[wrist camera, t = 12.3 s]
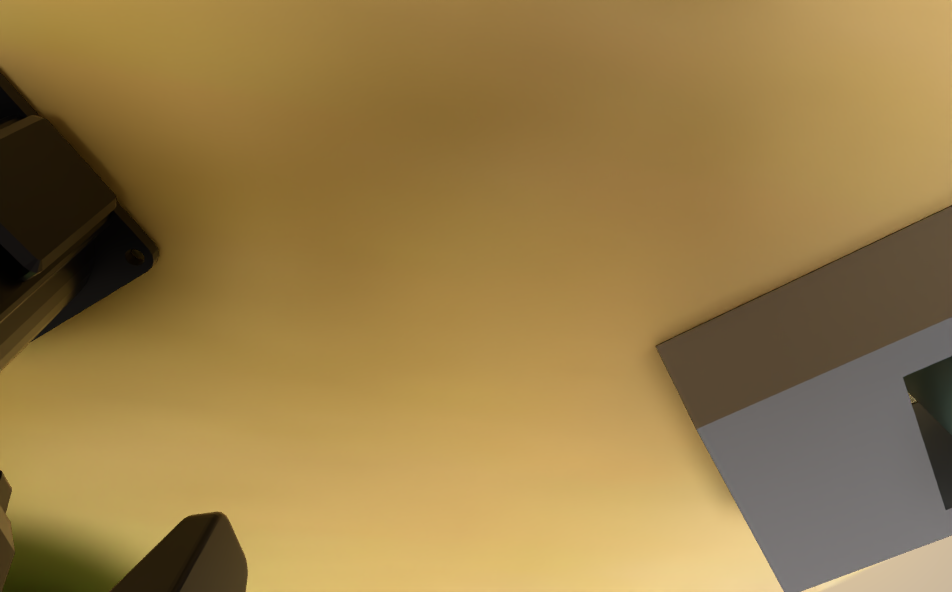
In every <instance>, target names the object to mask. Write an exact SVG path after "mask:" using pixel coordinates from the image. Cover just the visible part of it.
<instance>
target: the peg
mask: <svg viewBox="0 0 952 592" xmlns="http://www.w3.org/2000/svg"><path fill="white" fill-rule="evenodd" d="M903 379H904V382H905V385H906V389H907V391H908V392H909V393H910V394H911V395H912V396H913V397H914V398H915V399H916V400H917V401H918V402H919V403H920V404H921V405H922V406H923V407H924V408H925V409H926V410H927V411H928V412H929V413H930V414H931V415H932V416H933V417H934V418H935V419H936V420H937V421H938V422H939V423H940V424H941V425H942V426H943V427H944V428H945V429H946V430H947V431H948V432H949V433H950V434H951V435H952V356H951V357H948V358H946V359H944V360H941V361H939V362H937V363H934V364H932V365H930V366H927V367H925V368H923V369H920V370H918V371H916V372H913V373H911V374H909V375H906V376H904V377H903Z"/></svg>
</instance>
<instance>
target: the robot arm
mask: <svg viewBox="0 0 952 592" xmlns="http://www.w3.org/2000/svg"><path fill="white" fill-rule="evenodd" d="M131 249H136V250H138V251H140V252H141V253H142V254H143V256H144V259H138V258H136V257H135V256H134V255H133V254H132V252H131ZM158 257H159V252H158V248H157V247H156V245H155V243H154V242H153V241H152V240H151V239H150V238H149V237H148V235H147V234H146V233H145V232H144V231H143V230H142V229H141V228H140V227H139V225H138V224H137V223H136V222H135V221H134V220H133V219H132V218H131V217H130V216H129V214H128V213H127V212H126V211H125V210H124V209H123V208H122V207H121V206H120V204H119V203H118V202H117V201H116V196H115V194H114V193H113V192H112V191H111V190H110V189H109V188H108V187H107V185H106V184H105V183H104V182H103V181H102V180H101V179H100V178H99V177H98V175H97V174H96V173H95V172H94V171H93V170H92V169H91V168H90V167H89V165H88V164H87V163H86V162H85V161H84V160H83V159H82V158H81V157H80V155H79V154H78V153H77V152H76V151H75V150H74V149H73V148H72V147H71V145H70V144H69V143H68V142H67V141H66V140H65V139H64V138H63V137H62V135H61V134H60V133H59V132H58V131H57V130H56V129H55V128H54V127H53V125H52V124H51V123H50V122H49V121H48V120H47V119H45V118H42V117H40V116H39V115H38V114H37V113H36V112H35V110H34V109H33V108H32V107H31V106H30V105H29V104H28V103H27V102H26V100H25V99H24V98H23V97H22V96H21V95H20V94H19V93H18V92H17V90H16V89H15V88H14V87H13V86H12V85H11V84H10V83H9V82H8V81H7V79H6V78H5V77H4V76H3V75H2V74H1V73H0V372H1V371H2V370H3V369H4V368H5V367H6V366H7V365H8V364H9V363H10V362H11V361H12V360H13V359H14V358H15V357H16V356H17V355H18V354H19V353H20V352H21V351H22V350H23V349H24V348H25V347H26V346H27V345H28V344H29V343H30V342H32V341H33V340H35V339H37V338H38V337H40V336H42V335H43V334H45V333H46V332H48V331H50V330H51V329H53V328H55V327H56V326H58V325H60V324H61V323H63V322H65V321H66V320H68V319H70V318H71V317H73V316H75V315H76V314H78V313H80V312H81V311H83V310H84V309H86V308H88V307H89V306H91V305H93V304H94V303H96V302H98V301H99V300H101V299H103V298H104V297H106V296H108V295H109V294H111V293H113V292H114V291H116V290H117V289H119V288H121V287H122V286H124V285H126V284H127V283H129V282H131V281H132V280H134V279H136V278H137V277H139V276H141V275H142V274H144V273H146V272H147V271H148V270H149V269H150V268H151V267H152V266H153V265H154V264H155V263H156V262H157V260H158ZM11 492H12V488H11V486H10V484H9V483H8V481H7V479H6V478H5V476H4V474H3V472H2V471H1V470H0V592H2V589H3V586H4V583H5V580H6V577H7V574H8V571H9V569H10V566H11V563H12V560H13V557H14V554H15V549H14V542H13V536H12V529H11V523H10V521H9V519H8V517H7V516H6V514H5V513H6V510H7V506H8V503H9V499H10V496H11ZM247 576H248V569H247V562H246V558H245V555H244V553H243V551H242V548H241V546H240V544H239V542H238V539H237V537H236V535H235V533H234V530H233V528H232V526H231V524H230V522H229V520H228V518H227V516H226V515H224V514H223V513H221V512H211V513H203V514H196V515H191V516H188V517H186V518H185V519H183V520H182V521H181V522H180V523H179V524H178V525H177V526H176V527H175V528H174V529H173V530H172V531H171V532H170V533H169V534H168V535H167V536H166V537H164V538H163V539H162V540H161V541H160V542H159V543H158V544H157V545H156V546H155V547H154V548H153V549H152V550H151V551H150V552H149V553H148V554H147V555H146V556H145V557H144V558H143V559H142V560H141V561H140V562H139V563H138V564H137V565H136V566H135V567H134V568H133V569H132V570H131V571H130V572H129V573H128V574H127V575H126V576H125V577H124V578H123V579H122V580H121V581H120V582H119V583H117V584H116V585H115V586H114V587H113V588H112V589H111V590H110V591H109V592H246V585H247Z"/></svg>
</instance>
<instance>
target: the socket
mask: <svg viewBox="0 0 952 592" xmlns="http://www.w3.org/2000/svg"><path fill="white" fill-rule="evenodd" d="M656 348H657V350H658V352H659V354H660V356H661V358H662V360H663V362H664V365H665V367H666V369H667V371H668V373H669V375H670V377H671V379H672V381H673V383H674V385H675V387H676V389H677V391H678V393H679V395H680V397H681V399H682V401H683V403H684V405H685V407H686V409H687V411H688V414H689V416H690V418H691V420H692V422H693V424H694V426H695V428H696V430H697V432H698V433H699V435H700V437H701V439H702V441H703V443H704V445H705V446H706V448H707V450H708V452H709V454H710V456H711V458H712V459H713V461H714V463H715V465H716V467H717V469H718V471H719V472H720V474H721V476H722V478H723V480H724V482H725V483H726V485H727V487H728V489H729V491H730V493H731V495H732V496H733V498H734V500H735V502H736V504H737V506H738V508H739V509H740V511H741V513H742V515H743V517H744V519H745V521H746V522H747V524H748V526H749V528H750V530H751V532H752V533H753V535H754V537H755V539H756V541H757V543H758V545H759V546H760V548H761V550H762V552H763V554H764V556H765V558H766V559H767V561H768V563H769V565H770V567H771V569H772V571H773V572H774V574H775V576H776V578H777V580H778V582H779V583H780V585H781V587H782V589H783V591H784V592H801V591H803V590H806V589H809V588H811V587H814V586H817V585H819V584H822V583H825V582H828V581H830V580H833V579H836V578H838V577H841V576H844V575H846V574H849V573H852V572H855V571H857V570H860V569H863V568H865V567H868V566H871V565H873V564H876V563H879V562H881V561H884V560H887V559H890V558H892V557H895V556H898V555H900V554H903V553H906V552H908V551H911V550H914V549H916V548H919V547H922V546H924V545H927V544H930V543H933V542H935V541H938V540H941V539H943V538H946V537H949V536H951V535H952V435H951V434H950V433H949V432H948V431H947V430H946V429H945V428H944V427H943V426H942V425H941V424H940V423H939V422H938V421H937V420H936V419H935V418H934V417H933V416H932V415H931V414H930V413H929V412H928V411H927V410H926V409H925V408H924V407H923V406H922V405H921V404H920V403H919V402H917V403H915V404H911V401H910V398H909V395H908V392H907V389H906V385H905V382H904V379H903V377H904V376H906V375H909V374H911V373H913V372H916V371H918V370H920V369H923V368H925V367H927V366H930V365H932V364H934V363H937V362H939V361H941V360H944V359H946V358H948V357H951V356H952V206H951V207H949V208H947V209H944V210H942V211H940V212H938V213H936V214H934V215H932V216H930V217H928V218H925V219H923V220H921V221H919V222H917V223H915V224H913V225H911V226H909V227H906V228H904V229H902V230H900V231H898V232H896V233H894V234H892V235H890V236H887V237H885V238H883V239H881V240H879V241H877V242H875V243H873V244H871V245H868V246H866V247H864V248H862V249H860V250H858V251H856V252H854V253H852V254H849V255H847V256H845V257H843V258H841V259H839V260H837V261H835V262H833V263H830V264H828V265H826V266H824V267H822V268H820V269H818V270H816V271H814V272H811V273H809V274H807V275H805V276H803V277H801V278H799V279H797V280H795V281H792V282H790V283H788V284H786V285H784V286H782V287H780V288H778V289H776V290H773V291H771V292H769V293H767V294H765V295H763V296H761V297H759V298H757V299H754V300H752V301H750V302H748V303H746V304H744V305H742V306H740V307H738V308H736V309H733V310H731V311H729V312H727V313H725V314H723V315H721V316H719V317H717V318H714V319H712V320H710V321H708V322H706V323H704V324H702V325H700V326H698V327H695V328H693V329H691V330H689V331H687V332H685V333H683V334H681V335H679V336H676V337H674V338H672V339H670V340H668V341H666V342H664V343H662V344H660V345H657V346H656Z"/></svg>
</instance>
